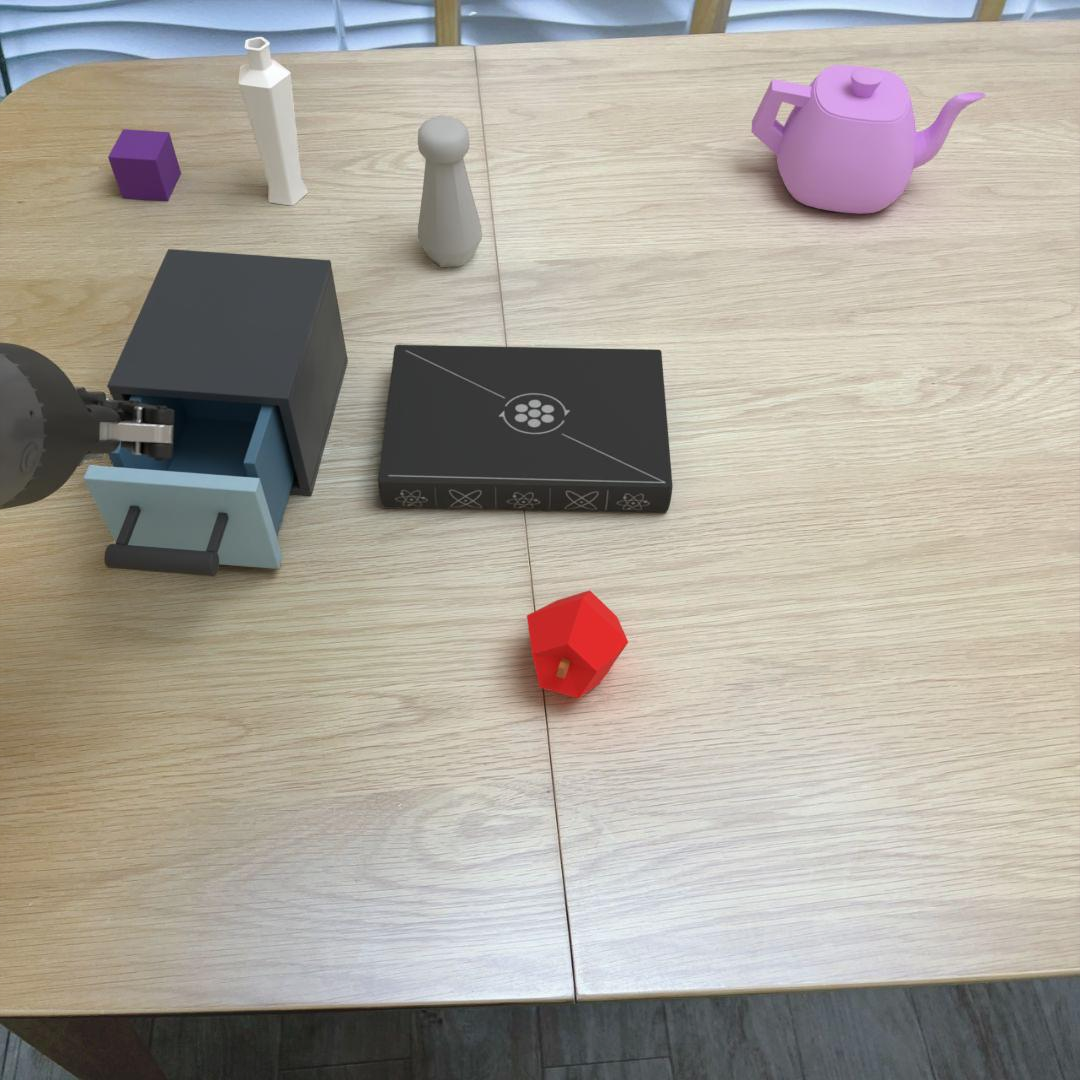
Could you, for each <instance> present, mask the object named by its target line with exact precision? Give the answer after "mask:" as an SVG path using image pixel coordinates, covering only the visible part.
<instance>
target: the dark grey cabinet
mask: <svg viewBox="0 0 1080 1080" xmlns="http://www.w3.org/2000/svg"><path fill="white" fill-rule="evenodd" d="M336 289H337V288H336V284H335V278H334V272H333V266H332V262H331V260H330V259H319V258H318V259H317V258H305V257H304V258H303V257H291V256H290V257H289V256H274V255H261V254H247V253H243V254H242V253H232V252H231V253H230V252H215V251H202V250H189V249H173V248H168V249H167V250H166V253H165V255H164V257H163V259H162V262H161V264H160V266H159V268H158V271H157V273H156V275H155V278H154V280H153V282H152V284H151V286H150V289H149V291H148V293H147V295H146V298H145V300H144V302H143V304H142V307H141V309H140V311H139V313H138V315H137V318H136V320H135V322H134V324H133V326H132V329H131V331H130V334H129V335H128V338H127V339H126V342H125V344H124V347H123V349H122V351H121V353H120V356H119V358H118V360H117V362H116V364H115V366H114V369H113V372H112V373H111V375H110V377H109V380H108V383H107V385H106V387H107V388H108V390H109V393H110V396H111V398H112V400H121V401H129V400H130V397H131V395H144V396H157V397H171V398H184V399H197V400H211V401H224V402H238V403H251V404H265V405H278V406H279V408H280V412H281V416H282V420H283V424H284V428H285V431H286V435H287V439H288V443H289V447H290V451H291V455H292V459H293V463H294V467H295V471H296V473H295V476H294V480H293V483H292V487H291V490H290V494H289V495H296V496H308V497H312V496H313V493H314V492H313V491H314V489H315V486H316V480H317V478H318V474H319V470H320V466H321V462H322V459H323V455H324V451H325V448H326V444H327V441H328V437H329V432H330V428H331V425H332V422H333V418H334V414H335V412H336V411H335V410H336V407H337V404H338V399H339V395H340V392H341V388H342V385H343V382H344V378H345V374H346V371H347V366H348V362H349V359H348V353H347V348H346V342H345V336H344V330H343V324H342V319H341V313H340V307H339V302H338V296H337V290H336Z"/></svg>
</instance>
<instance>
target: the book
mask: <svg viewBox="0 0 1080 1080" xmlns="http://www.w3.org/2000/svg"><path fill="white" fill-rule="evenodd" d="M392 355H393V357H392V364H391V371H390V372H391V373H390V379H389V380H390V381H389V387H388V388H389V389H388V395H387V396H388V397H387V404H386V410H385V411H386V413H385V419H384V429H383V434H382V435H383V436H382V443H381V445H382V446H381V451H380V460H379V468H378V476H377V483H378V485H377V487H378V495H379V499H380V504H381V506H382V508H383V509H384V508H385V509H387V508H388V509H435V510H437V509H441V510H442V509H445V510H492V511H493V510H496V511H497V510H498V511H501V510H502V511H555V512H556V511H557V512H560V511H561V512H563V511H564V512H614V513H615V512H616V513H617V512H618V513H619V512H621V513H626V512H627V513H667V512H668V511H669V510H670V505H671V501H672V496H673V495H672V494H673V487H674V486H673V476H672V475H673V474H672V464H671V450H670V438H669V427H668V415H667V414H668V413H667V402H666V389H665V377H664V368H663V367H664V366H663V365H664V364H663V354H662V350H661V349H656V348H655V349H654V348H652V349H651V348H649V349H645V348H597V347H595V348H593V347H592V348H591V347H547V346H546V347H545V346H544V347H541V346H539V347H538V346H536V347H535V346H492V345H491V346H489V345H488V346H487V345H486V346H485V345H483V346H482V345H481V346H480V345H437V344H435V345H431V344H430V345H429V344H428V345H427V344H395V345H394V349H393V354H392Z"/></svg>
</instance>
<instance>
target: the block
mask: <svg viewBox="0 0 1080 1080" xmlns="http://www.w3.org/2000/svg"><path fill="white" fill-rule="evenodd" d="M107 159H108V161H109V164H110V167H111V170H112V173H113V176H114V178H115V179H114V180H115V181H116V184H117V187H118V190H119V193H120V196H121V198H122V199H131V200H133V199H134V200H145V201H146V200H147V201H160V202H168V201H169V200H170V198H171V195H172V193H173V192H174V189H175V187H176V185H177V182H178V180H179V178H180V176H181V174H182V171H181V168H180V165H179V161H178V157H177V154H176V151H175V147H174V143H173V140H172V136H171V133H170V131H157V130H145V129H144V130H143V129H142V130H141V129H128V128H127V129H126V128H123V129H122V130H121V132H120V134H119V136H118V138H117V139H116V141H115V143H114V145H113V147H112V149H111V151H110V152H109V154H108V155H107Z"/></svg>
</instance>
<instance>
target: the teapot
mask: <svg viewBox="0 0 1080 1080" xmlns="http://www.w3.org/2000/svg"><path fill="white" fill-rule="evenodd" d="M986 96H987V94H986V93H984V92H982V91H981V92H980V91H969V92H962V93H959V94H956V95H954V96H953V97H951V98H950V99H949V100H947V101H946V102H945V104H944V105H943V107H942V108H941V110H940V111H939V113H938V115H937V117H936V119H935V120H934V121H933V123H932V124H930V126H928V127H926V128H925V129H922V130H920V131H917V127H916V118H915V112H914V108H913V103H912V99H911V95H910V92H909V89H908V86H907V84H906V83H905V82H904V80H903V79H902V77H900V76H899V75H897V74H896V73H895V72H893V71H889V70H887V69H881V68H877V67H869V66H862V65H861V66H860V65H849V64H836V65H831V66H828V67H826V68H824V69H823V70H821V71H820V72H819V74H817V76H816V77H815V78H814V79H813V80H812V82H811V83H810V84H809V85H806V84H800V83H797V82H790V81H786V80H780V79H775V78H772V79H771V81H770V82H769V85H768V87H767V88H766V90H765V93H764V95H763V97H762V99H761V101H760V103H759V105H758V107H757V109H756V112H755V113H754V116H753V118H752V120H751V131H750V132H751V133H752V134H753V135H754V136H755V137H756V138H757V139H758V140H759V141H760V142H761V143H762V144H763V145H765V146H766V147H767V148H768V149H769V150H770V151H771V152H773V153H774V154H775V155H776V163H777V164H776V165H777V168H778V172H779V174H780V177H781V179H782V182H783V184H784V186H785V187H786V189H787V191H788V193H789V194H790V195H791V197H792V198H793V199H795V200H796V201H797V202H799V203H801V204H803V205H805V206H807V207H811V208H814V209H819V210H824V211H830V212H836V213H846V214H860V215H861V214H874V213H878V212H880V211H882V210H884V209H885V208H887V207H889V206H890V205H891V204H893V203H894V202H895V201H896V200H897V199H899V198H900V196H901V195H902V194H903V192H904V191H905V190H906V188H907V187H908V185H909V184H910V181H911V178H912V175H913V171H914V170H915V169H917V168H919V167H922V166H924V165H926V164H928V163H929V162H930V161H932V160H933V159H934V158H935V157H936V156H937V155H938V153H939V152H940V151H941V149H942V147H943V146H944V143H945V142H946V140H947V137H948V136H949V133H950V131H951V128H952V126H953V124H954V123H955V121H956V119H957V117H958V116H959V115H960V113H961V112H962V111H963V110H964V109H966V108H967V107H968V106H971V105H972V104H974V103H976V102H977V101H980V100H982V99H984V98H985V97H986ZM782 103H785V104H788V105H792V106H793V108H792V109H791V111H790V113H789V115H788V117H787V118H786V121H785V123H784V125H783V124H782V123H781V122H780V121H778V119H777V117H778V115H779V114H778V113H779V111H780V108H781V105H782Z"/></svg>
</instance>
